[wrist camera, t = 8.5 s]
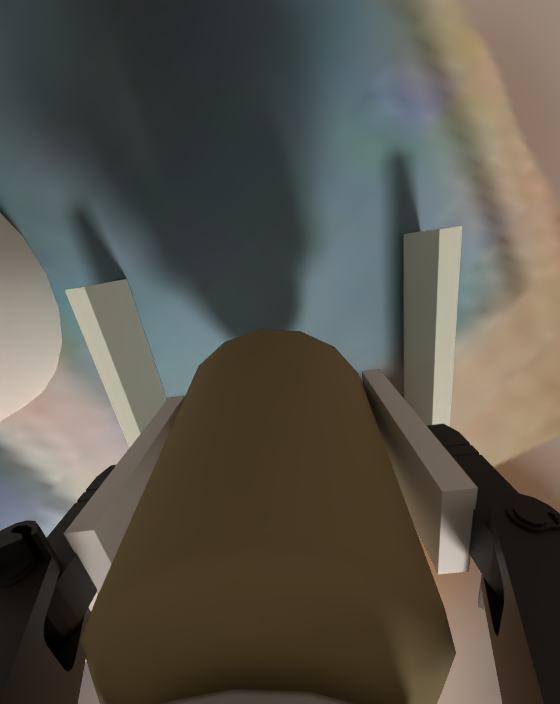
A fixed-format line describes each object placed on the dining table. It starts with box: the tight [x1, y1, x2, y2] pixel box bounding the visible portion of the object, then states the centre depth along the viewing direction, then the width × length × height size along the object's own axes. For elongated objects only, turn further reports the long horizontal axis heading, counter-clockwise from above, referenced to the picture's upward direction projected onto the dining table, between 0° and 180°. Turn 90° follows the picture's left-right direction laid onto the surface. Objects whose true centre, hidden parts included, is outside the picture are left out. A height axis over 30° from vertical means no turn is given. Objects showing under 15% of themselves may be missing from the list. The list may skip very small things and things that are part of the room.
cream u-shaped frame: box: [65, 226, 462, 448], centre depth 17 cm, size 14×19×4 cm
